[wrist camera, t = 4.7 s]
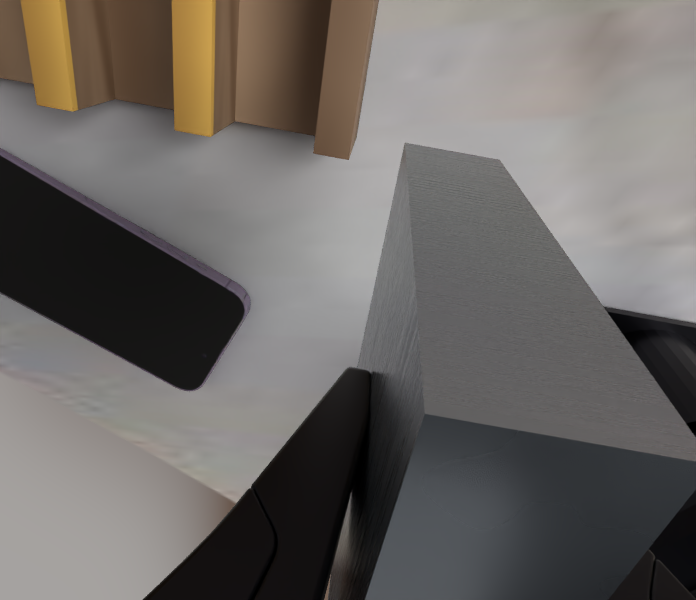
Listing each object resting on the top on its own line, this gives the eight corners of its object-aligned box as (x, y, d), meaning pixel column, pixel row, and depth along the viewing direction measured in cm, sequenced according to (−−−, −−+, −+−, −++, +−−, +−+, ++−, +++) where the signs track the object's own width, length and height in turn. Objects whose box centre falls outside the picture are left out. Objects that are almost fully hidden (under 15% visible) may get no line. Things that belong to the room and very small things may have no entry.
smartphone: (-61, 115, 20) (255, 302, 23) (-40, 112, 21) (261, 291, 24) (-84, 249, 24) (194, 398, 26) (-64, 241, 25) (202, 385, 27)
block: (499, 159, 10) (716, 465, 3) (421, 407, 14) (447, 801, 7) (405, 142, 10) (425, 414, 3) (351, 394, 14) (307, 777, 7)
